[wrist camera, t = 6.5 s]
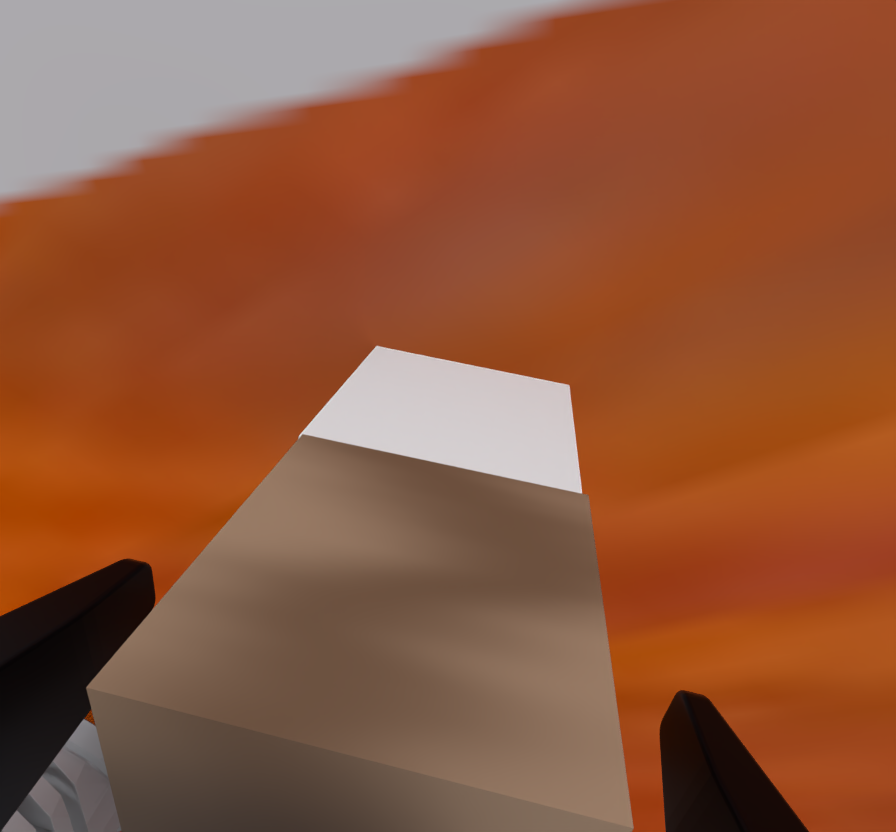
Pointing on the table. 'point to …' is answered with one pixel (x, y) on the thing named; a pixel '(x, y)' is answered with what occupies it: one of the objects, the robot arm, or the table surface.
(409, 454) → the white cube
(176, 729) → the walnut cube
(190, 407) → the table surface
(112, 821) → the french press
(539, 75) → the table surface
